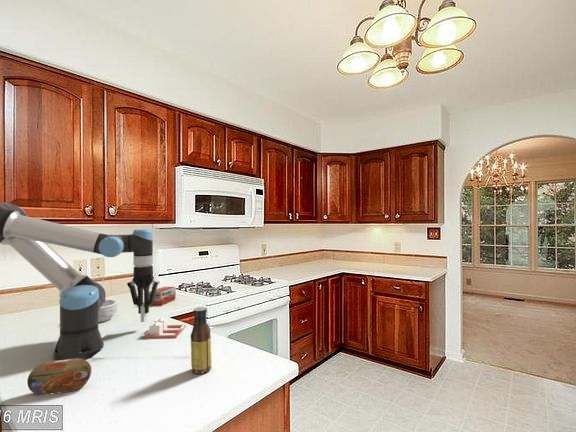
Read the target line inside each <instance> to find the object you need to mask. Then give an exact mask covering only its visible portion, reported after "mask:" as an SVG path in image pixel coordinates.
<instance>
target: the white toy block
mask: <svg viewBox="0 0 576 432" xmlns="http://www.w3.org/2000/svg"><path fill="white" fill-rule="evenodd" d="M156 321H159V322H163V330H168V328H167V325H168V317H164V316H160V317H157V318H156V319H155V320H154V322H156Z"/></svg>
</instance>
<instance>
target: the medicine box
mask: <svg viewBox="0 0 576 432" xmlns="http://www.w3.org/2000/svg"><path fill="white" fill-rule="evenodd" d="M150 294H151V291H150V290H149V299H150ZM175 300H176V286H162V287H161V286H160V287H159V288H158V287H157V289H156V293H155V298H154V302H153V303H152V304H150V305H149V306H154V307H155V306H156V307H157V306H158V307H159V306H160V307H162V306H164V305H166V304H168V303H171V302H173V301H175Z"/></svg>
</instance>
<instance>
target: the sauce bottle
mask: <svg viewBox="0 0 576 432" xmlns="http://www.w3.org/2000/svg"><path fill="white" fill-rule="evenodd" d="M207 311H208V310H207V308H206V307H205V306H204V307H203V306H200V307H196V308H193V318H194V319H193V326H192V329H191V330H192V331H191V333H190V359H191V360H190V363H191V364H190V365H191V370H192V373H194V372H197V373H202V372H206V373H208V372H210V371H211V370H212V336H211V328H210V326H209V324H208V323H207ZM209 370H210V371H209ZM207 371H208V372H207Z"/></svg>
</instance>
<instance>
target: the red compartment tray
mask: <svg viewBox="0 0 576 432" xmlns="http://www.w3.org/2000/svg"><path fill="white" fill-rule="evenodd" d="M186 327H187V325H186V324H167V329H166V330H163V334H162V335H149V330H148V331H147V332H146V333H145V334H144V335H143V336H142V338H143V339H145V340H146V339H177V338H178V337H179V336H180V335H181V333H182V332H183V331H184V330H185V328H186ZM171 333H172V334H171Z"/></svg>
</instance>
